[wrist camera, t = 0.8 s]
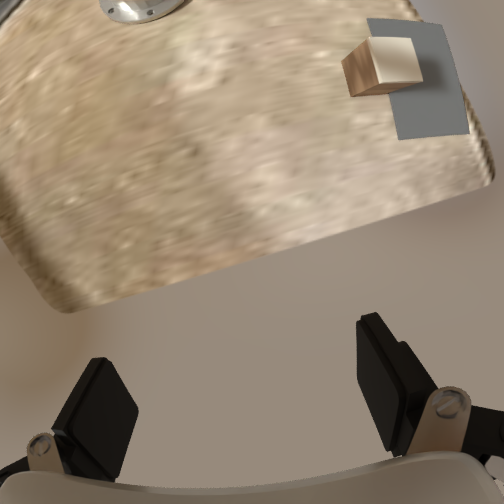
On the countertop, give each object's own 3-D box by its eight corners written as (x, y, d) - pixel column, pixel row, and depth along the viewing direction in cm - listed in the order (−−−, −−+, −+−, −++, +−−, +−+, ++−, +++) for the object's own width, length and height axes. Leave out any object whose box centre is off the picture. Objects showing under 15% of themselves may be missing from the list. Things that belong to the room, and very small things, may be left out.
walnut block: (341, 61, 29) (369, 36, 20) (375, 59, 28) (410, 38, 20) (350, 97, 30) (382, 82, 22) (384, 94, 30) (423, 81, 21)
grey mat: (366, 19, 27) (367, 18, 26) (440, 25, 26) (441, 24, 26) (398, 140, 31) (399, 140, 31) (468, 133, 31) (469, 134, 31)
